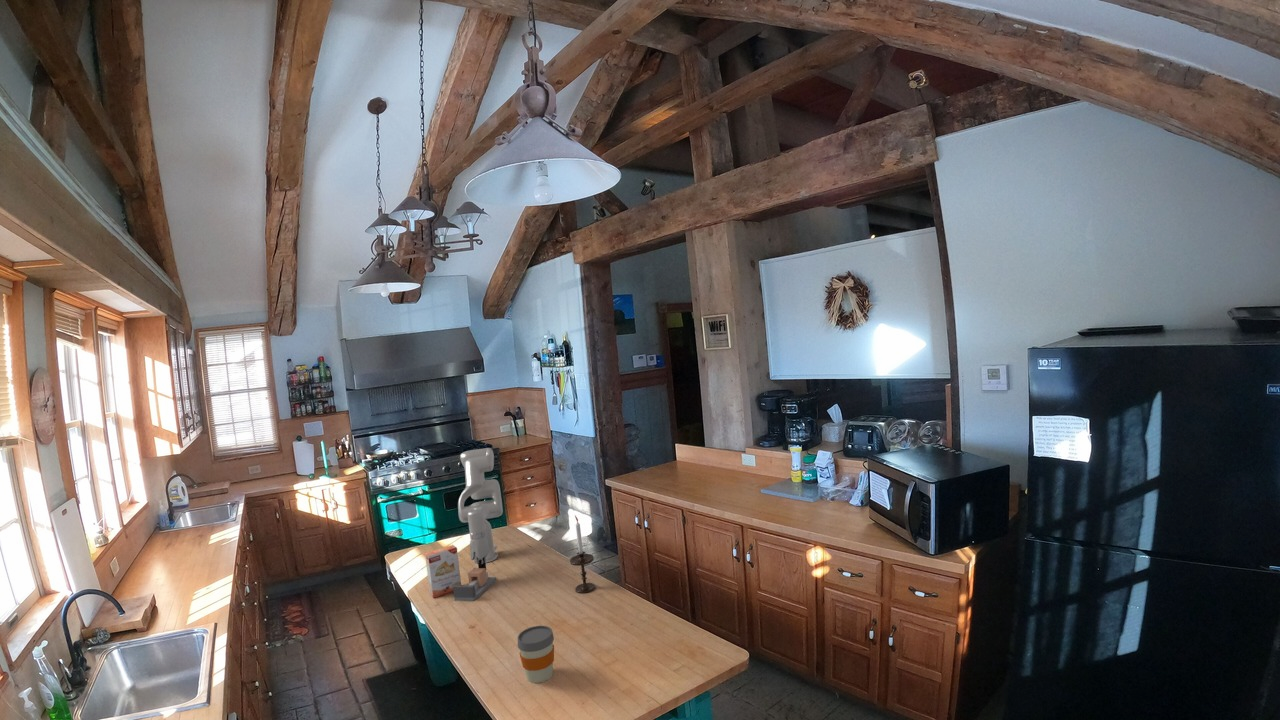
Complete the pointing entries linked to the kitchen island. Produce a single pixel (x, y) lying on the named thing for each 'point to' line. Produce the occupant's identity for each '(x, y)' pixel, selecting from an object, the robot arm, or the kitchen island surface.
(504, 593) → the kitchen island surface
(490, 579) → the track
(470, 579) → the slider
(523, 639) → the reusable coffee cup
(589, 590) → the candlestick
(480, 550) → the robot arm
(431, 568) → the cracker box
